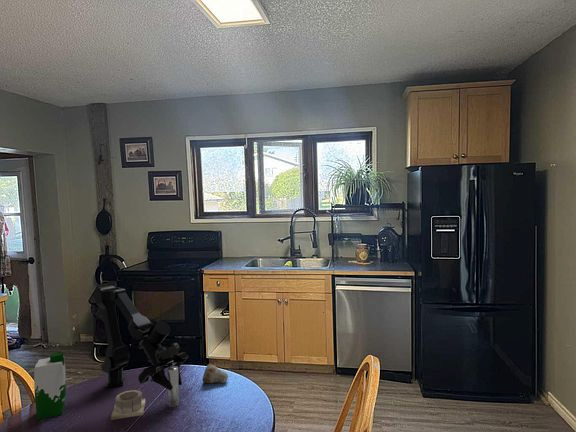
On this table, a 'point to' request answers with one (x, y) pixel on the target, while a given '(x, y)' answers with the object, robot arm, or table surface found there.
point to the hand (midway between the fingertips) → (176, 387)
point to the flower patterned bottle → (214, 375)
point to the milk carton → (50, 386)
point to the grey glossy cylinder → (173, 386)
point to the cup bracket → (128, 405)
